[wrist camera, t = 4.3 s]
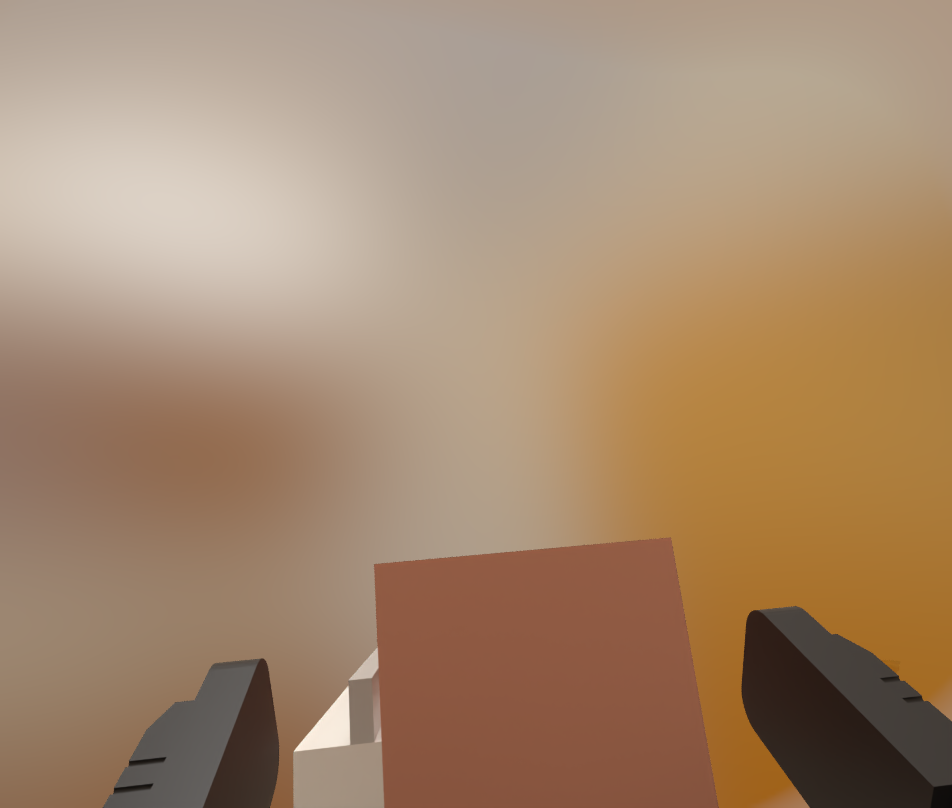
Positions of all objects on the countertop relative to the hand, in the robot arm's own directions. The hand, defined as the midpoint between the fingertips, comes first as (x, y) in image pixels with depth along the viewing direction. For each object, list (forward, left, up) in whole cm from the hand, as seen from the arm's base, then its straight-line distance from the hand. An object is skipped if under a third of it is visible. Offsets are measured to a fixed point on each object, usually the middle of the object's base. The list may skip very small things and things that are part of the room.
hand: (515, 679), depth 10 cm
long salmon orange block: (0, +8, -2) cm, 8 cm away
